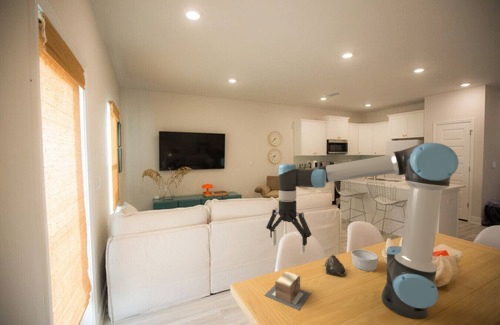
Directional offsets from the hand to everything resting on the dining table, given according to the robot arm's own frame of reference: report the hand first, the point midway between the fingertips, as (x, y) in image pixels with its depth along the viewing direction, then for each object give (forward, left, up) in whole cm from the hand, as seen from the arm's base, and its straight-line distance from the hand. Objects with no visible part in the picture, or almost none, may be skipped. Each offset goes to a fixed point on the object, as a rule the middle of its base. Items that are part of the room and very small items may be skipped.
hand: (287, 248), depth 95 cm
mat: (0, 0, -21) cm, 21 cm away
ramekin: (-23, -47, -21) cm, 56 cm away
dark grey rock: (-11, -31, -21) cm, 39 cm away
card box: (0, 0, -20) cm, 20 cm away
